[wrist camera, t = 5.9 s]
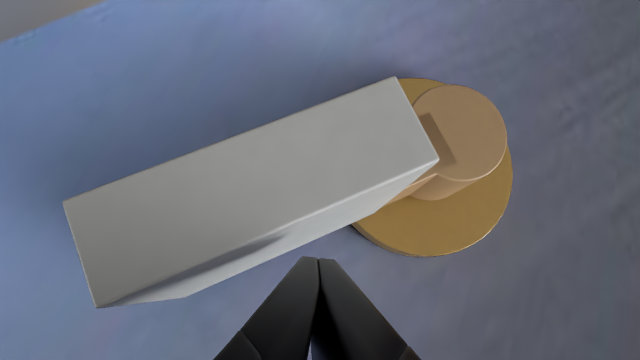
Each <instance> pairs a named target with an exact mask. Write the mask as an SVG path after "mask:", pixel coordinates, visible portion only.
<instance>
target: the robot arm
mask: <svg viewBox="0 0 640 360" xmlns="http://www.w3.org/2000/svg"><path fill="white" fill-rule="evenodd" d="M310 341H311V353H312V360H421V359H420V358H419V357H418V356H417V354H416V353H415V352H414V351H413V350H412V349H411V347H409V346H408V347H407V344H406V342H405V341H404V340H403V339H402V338H401V337H400V335H399V334H398V333H397V332H396V331H395V330H394V328H393V327H392V326H391V325H390V324H389V323H388V321H387V320H386V319H385V318H384V317H383V316H382V314H381V313H380V312H379V311H378V310H377V309H376V307H375V306H374V305H373V304H372V303H371V302H370V300H369V299H368V298H367V297H366V296H365V295H364V293H363V292H362V291H361V290H360V289H359V288H358V286H357V285H356V284H355V283H354V282H353V281H352V279H351V278H350V277H349V276H348V275H347V274H346V272H345V271H344V270H343V269H342V268H341V267H340V265H339V264H338V263H337V262H336V261H335V260H333V259H325V258H320V259H319V260H318V259H317V258H315V257H306V256H303V257H301V258H300V259H299V260H298V262H297V263H296V264H295V265H294V266H293V268H292V269H291V270H290V271H289V272H288V274H287V275H286V276H285V277H284V278H283V279H282V281H281V282H280V283H279V284H278V285H277V287H276V288H275V289H274V290H273V291H272V293H271V294H270V295H269V296H268V297H267V299H266V300H265V301H264V302H263V303H262V304H261V306H260V307H259V308H258V309H257V310H256V312H255V313H254V314H253V315H252V316H251V318H250V319H249V320H248V321H247V322H246V323H245V325H244V326H243V327H242V328H241V330H240V331H238V332H237V334H236V335H235V336H234V337H233V338H232V339H231V341H230V342H229V343H228V344H227V345H226V346H225V347H224V348H223V350H222V351H221V352H220V353H219V354H218V355H217V356H216V357H215V358H214V359H213V360H307V357H308V352H309V346H310Z"/></svg>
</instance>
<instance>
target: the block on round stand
mask: <svg viewBox="0 0 640 360" xmlns="http://www.w3.org/2000/svg"><path fill="white" fill-rule="evenodd" d="M506 145H507V132H506V127H505V124H504V121H503V118H502V116H501V114H500V113H499V111H498V110H497V108H496V107H495V106H494V104H493V103H492V102H491V101H490V100H489V99H488V98H486V97H485V96H484V95H482V94H481V93H479V92H477V91H475V90H473V89H471V88H468V87H465V86H461V85H452V84H451V85H441V86H437V87H434V88H431V89H429V90H427V91H425V92H424V93H422V94H421V95H420V96H419V97H418V98H417V99H416V100H415V101H414V103H413V104H412V105H411V104H410V102H409V100H408V99H407V97H406V95H405V93H404V91H403V89H402V87H401V86H400V84H399V82H398V80H397V78H396V77H395V76H392V77H389V78H386V79H384V80H381V81H378V82H376V83H373V84H371V85H368V86H365V87H363V88H360V89H357V90H355V91H352V92H349V93H347V94H344V95H341V96H339V97H336V98H333V99H331V100H328V101H325V102H323V103H320V104H317V105H315V106H312V107H310V108H307V109H304V110H302V111H299V112H296V113H294V114H291V115H288V116H286V117H283V118H280V119H278V120H275V121H272V122H270V123H267V124H264V125H262V126H259V127H256V128H254V129H251V130H249V131H246V132H243V133H241V134H238V135H235V136H233V137H230V138H227V139H225V140H222V141H219V142H217V143H214V144H211V145H209V146H206V147H203V148H201V149H198V150H195V151H193V152H190V153H188V154H185V155H182V156H180V157H177V158H174V159H172V160H169V161H166V162H164V163H161V164H158V165H156V166H153V167H150V168H148V169H145V170H142V171H140V172H137V173H135V174H132V175H129V176H127V177H124V178H121V179H119V180H116V181H113V182H111V183H108V184H105V185H103V186H100V187H97V188H95V189H92V190H89V191H87V192H84V193H81V194H79V195H76V196H74V197H71V198H68V199H66V200H64V201H63V207H64V210H65V213H66V217H67V220H68V223H69V226H70V230H71V233H72V236H73V239H74V243H75V246H76V249H77V252H78V255H79V259H80V262H81V265H82V268H83V272H84V275H85V278H86V281H87V285H88V288H89V291H90V294H91V297H92V301H93V304H94V306H95V307H96V308H106V307H114V306H122V305H130V304H138V303H146V302H154V301H162V300H170V299H177V298H185V297H187V296H189V295H191V294H194V293H196V292H198V291H200V290H203V289H205V288H207V287H209V286H212V285H214V284H216V283H218V282H221V281H223V280H225V279H227V278H230V277H232V276H234V275H236V274H239V273H241V272H243V271H245V270H248V269H250V268H252V267H254V266H257V265H259V264H261V263H263V262H266V261H268V260H270V259H272V258H275V257H277V256H279V255H281V254H284V253H286V252H288V251H290V250H293V249H295V248H297V247H299V246H302V245H304V244H306V243H308V242H311V241H313V240H315V239H317V238H320V237H322V236H324V235H326V234H329V233H331V232H333V231H335V230H338V229H340V228H342V227H344V226H347V225H349V224H351V223H353V222H356V221H358V220H360V219H362V218H365V217H367V216H369V215H371V214H374V213H375V212H376V211H378V210H379V209H380V208H381V207H383V206H386V205H388V204H390V203H392V202H395V201H397V200H399V199H401V198H404V197H406V196H408V195H410V196H412V197H414V198H417V199H421V200H429V201H432V200H439V199H443V198H446V197H448V196H450V195H452V194H453V193H455V192H457V191H459V190H461V189H463V188H465V187H466V186H468V185H470V184H472V183H474V182H476V181H477V180H479V179H481V178H483V177H485V176H487V175H488V174H490V173H491V172H492V171H493V170H494V169H495V168H496V167H497V166H498V165H499V163H500V162H501V160H502V158H503V156H504V153H505V150H506Z"/></svg>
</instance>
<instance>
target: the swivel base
mask: <svg viewBox="0 0 640 360" xmlns="http://www.w3.org/2000/svg"><path fill="white" fill-rule="evenodd" d="M398 82H399V84H400V86H401V87H402V89H403V91H404V93H405V95H406V97H407V99H408V100H409V102H410V104H411V105H412V104H413V103H414V101H415V100H416V99H417V98H418V97H419V96H420V95H421V94H422V93H424V92H425V91H427V90H429V89H431V88H434V87H437V86H441V85H448V84H445V83H442V82H438V81H435V80H429V79H422V78H406V79H398ZM511 188H512V162H511V156H510V153H509V149H508V146H507V145H506V150H505V153H504V156H503V158H502V160H501V162H500V163H499V165H498V166H497V167H496V168H495V169H494V170H493V171H492V172H491V173H490V174H488V175H487V176H485V177H483V178H481V179H479V180H477V181H476V182H474V183H472V184H470V185H468V186H466V187H465V188H463V189H461V190H459V191H457V192H455V193H453V194H452V195H450V196H448V197H446V198H443V199H439V200H432V201H429V200H421V199H417V198H414V197H412V196H410V195H408V196H406V197H404V198H401V199H399V200H397V201H395V202H392V203H390V204H388V205H386V206H383V207H381V208H380V209H379V210H378V211H376V212H375V213H374V214H371V215H369V216H367V217H365V218H362V219H360V220H358V221H356V222H353V223H351V224H352V225H353V226H354V227H355V228H356V229H357V230H358V231H359V232H360V233H361V234H362V235H363V236H364V237H366V238H367V239H368V240H370V241H371V242H373V243H374V244H376V245H378V246H380V247H381V248H384V249H386V250H388V251H391V252H393V253H397V254H401V255H404V256H411V257H434V256H441V255H447V254H451V253H454V252H458V251H461V250H463V249H465V248H468V247H470V246H472V245H473V244H475V243H476V242H478V241H480V240H481V239H482V238H483V237H485V236H486V235H487V234H488V233H489V232H490V231H491V230H492V229H493V228H494V226H495V225H496V224H497V223H498V221H499V219H500V218H501V216H502V215H503V213H504V211H505V208H506V206H507V204H508V201H509V197H510V194H511Z"/></svg>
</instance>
